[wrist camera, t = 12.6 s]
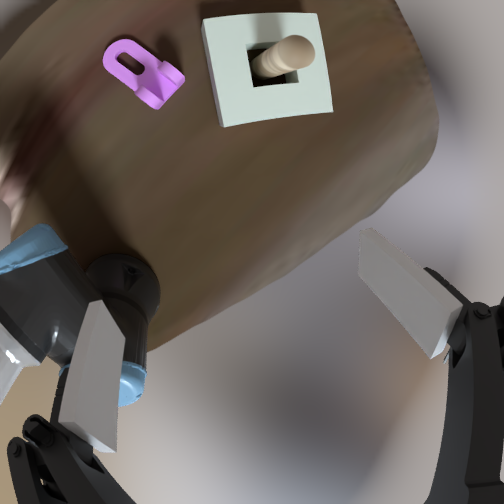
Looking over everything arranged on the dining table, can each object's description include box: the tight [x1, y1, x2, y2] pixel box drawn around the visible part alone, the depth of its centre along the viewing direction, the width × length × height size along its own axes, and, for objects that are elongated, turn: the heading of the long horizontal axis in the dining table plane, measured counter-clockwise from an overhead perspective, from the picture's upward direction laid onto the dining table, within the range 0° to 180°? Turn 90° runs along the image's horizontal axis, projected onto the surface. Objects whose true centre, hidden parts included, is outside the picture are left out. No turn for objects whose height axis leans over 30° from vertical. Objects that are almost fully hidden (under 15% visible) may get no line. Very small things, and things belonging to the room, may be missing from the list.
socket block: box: [201, 13, 333, 127], centre depth 32 cm, size 16×16×5 cm
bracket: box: [103, 39, 185, 109], centre depth 28 cm, size 13×6×7 cm, turn 45°
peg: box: [250, 35, 315, 80], centre depth 29 cm, size 4×4×14 cm
